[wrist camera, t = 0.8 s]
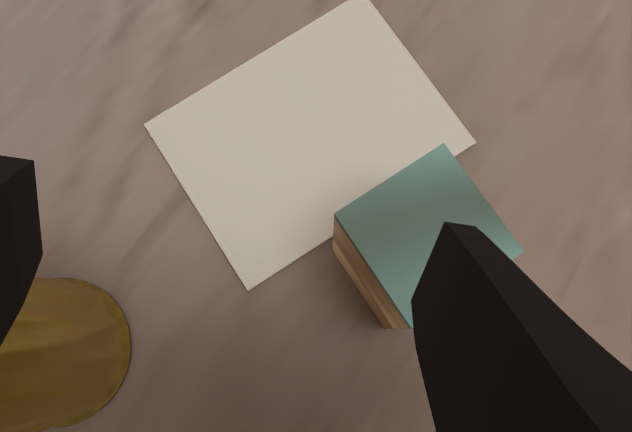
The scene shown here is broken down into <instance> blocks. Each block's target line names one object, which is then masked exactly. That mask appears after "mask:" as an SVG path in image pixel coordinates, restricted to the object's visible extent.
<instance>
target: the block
mask: <svg viewBox="0 0 632 432" xmlns="http://www.w3.org/2000/svg"><path fill="white" fill-rule="evenodd" d="M444 222H451V223H458V224H464V225H471V226H476V227H477V228H478V229H479V230H480V231H482V232H483V233H484V234H485V235H486V236H487V237H488V238H489V239H490V240H491V241H492V242H494V243H495V244H496V245H497V246H498V247H499V248H500V249H501V250H502V251H503V252H504V253H505V254H506V255H507V256H508V257H509V258H510V259H511V260H513V259H514V258H516V257H517V256H519V255H520V254H522V253H523V252H524V251H523V249H522V248H521V246H520V245H519V244H518V242H517V241H516V240H515V238H514V237H513V236H512V234H511V233H510V232H509V230H508V229H507V228H506V226H505V225H504V223H503V222H502V221H501V219H500V218H499V217H498V215H497V214H496V213H495V211H494V210H493V209H492V207H491V206H490V204H489V203H488V202H487V200H486V199H485V198H484V196H483V195H482V194H481V192H480V191H479V190H478V188H477V187H476V186H475V184H474V183H473V181H472V180H471V179H470V177H469V176H468V175H467V173H466V172H465V171H464V169H463V168H462V167H461V165H460V164H459V162H458V161H457V160H456V158H455V157H454V156H453V154H452V153H451V152H450V150H449V149H448V148H447V146H446V145H445V143H442V144H441V145H439V146H438V147H436V148H435V149H433V150H432V151H430V152H428V153H427V154H425V155H424V156H422V157H421V158H419V159H418V160H416V161H415V162H413V163H411V164H410V165H408V166H407V167H405V168H404V169H402V170H401V171H399V172H397V173H396V174H394V175H393V176H391V177H390V178H388V179H387V180H385V181H384V182H382V183H380V184H379V185H377V186H376V187H374V188H373V189H371V190H370V191H368V192H367V193H365V194H363V195H362V196H360V197H359V198H357V199H356V200H354V201H353V202H351V203H349V204H348V205H346V206H345V207H343V208H342V209H340V210H339V211H337V212H336V213H334V227H333V249H332V251H333V252H334V254H335V255H336V257H337V258H338V260H339V261H340V263H341V264H342V266H343V267H344V269H345V270H346V272H347V273H348V275H349V276H350V278H351V279H352V281H353V282H354V284H355V285H356V287H357V288H358V290H359V291H360V293H361V294H362V296H363V297H364V299H365V300H366V302H367V303H368V305H369V306H370V308H371V309H372V311H373V312H374V314H375V315H376V317H377V318H378V320H379V321H380V323H381V324H382V326H383V328H384V329H398V328H412V327H413V319H412V307H411V299H412V296H413V294H414V292H415V289H416V287H417V285H418V282H419V280H420V278H421V275H422V273H423V271H424V268H425V266H426V264H427V261H428V259H429V257H430V254H431V252H432V249H433V247H434V245H435V242H436V240H437V238H438V235H439V233H440V231H441V228H442V226H443V224H444Z"/></svg>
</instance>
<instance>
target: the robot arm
mask: <svg viewBox="0 0 632 432" xmlns="http://www.w3.org/2000/svg"><path fill="white" fill-rule="evenodd" d="M42 255H43V251H42V241H41V230H40V220H39V209H38V199H37V189H36V178H35V168H34V160H27V159H21V158H14V157H7V156H0V346H1V345H2V343H3V341H4V339H5V337H6V336H7V334H8V332H9V330H10V328H11V326H12V325H13V323H14V321H15V319H16V317H17V316H18V314H19V312H20V310H21V308H22V306H23V304H24V302H25V299H26V297H27V294H28V292H29V290H30V287H31V285H32V282H33V279H34V277H35V274H36V271H37V269H38V266H39V263H40V261H41V258H42ZM411 307H412V319H413V329H414V337H415V345H416V351H417V355H418V360H419V364H420V368H421V372H422V376H423V380H424V384H425V388H426V392H427V396H428V400H429V404H430V408H431V412H432V416H433V420H434V424H435V428H436V432H632V371H630V370H629V369H628V368H626V367H625V366H624V365H623V364H622V363H620V362H619V361H618V360H617V359H616V358H614V357H613V356H612V355H611V354H610V353H609V352H607V351H606V350H605V349H604V348H603V347H602V346H601V345H600V344H598V343H597V342H596V341H595V340H594V339H593V338H592V337H591V336H589V335H588V334H587V333H586V332H585V331H584V330H583V329H582V328H580V327H579V326H578V325H577V324H576V323H575V322H574V321H573V320H572V319H571V318H570V317H569V316H568V315H566V314H565V313H564V312H563V311H562V310H561V309H560V308H559V307H558V306H557V305H556V304H555V303H554V302H553V301H552V300H551V299H550V298H549V297H548V296H547V295H546V294H545V293H544V292H543V291H542V290H541V289H540V288H539V287H538V286H537V285H536V284H535V283H534V282H533V281H532V280H531V279H530V278H529V277H528V276H527V275H526V274H525V273H524V272H523V271H522V270H521V269H520V268H519V267H518V266H517V265H516V264H515V263H514V262H513V261H512V260H511V259H510V258H509V257H508V256H507V255H506V254H505V253H504V252H503V251H502V250H501V249H500V248H499V247H498V246H497V245H496V244H495V243H494V242H492V241H491V240H490V239H489V238H488V237H487V236H486V235H485V234H484V233H483V232H482V231H480V230H479V229H478V228H477V227H476V226H471V225H464V224H458V223H451V222H444V224H443V226H442V228H441V231H440V233H439V235H438V238H437V240H436V242H435V245H434V247H433V249H432V252H431V254H430V257H429V259H428V261H427V264H426V266H425V268H424V271H423V273H422V275H421V278H420V280H419V282H418V285H417V287H416V289H415V292H414V294H413V296H412V299H411Z"/></svg>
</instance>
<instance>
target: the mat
mask: <svg viewBox="0 0 632 432" xmlns="http://www.w3.org/2000/svg"><path fill="white" fill-rule="evenodd" d="M144 125H145V127H146V129H147V130H148V132H149V133H150V135H151V137H152V138H153V140H154V141H155V143H156V145H157V146H158V148H159V149H160V151H161V153H162V154H163V156H164V157H165V159H166V161H167V162H168V164H169V165H170V167H171V169H172V170H173V172H174V173H175V175H176V177H177V178H178V180H179V182H180V183H181V185H182V186H183V188H184V190H185V191H186V193H187V194H188V196H189V198H190V199H191V201H192V202H193V204H194V206H195V207H196V209H197V210H198V212H199V214H200V215H201V217H202V218H203V220H204V222H205V223H206V225H207V226H208V228H209V230H210V231H211V233H212V235H213V236H214V238H215V239H216V241H217V243H218V244H219V246H220V247H221V249H222V251H223V252H224V254H225V255H226V257H227V259H228V260H229V262H230V263H231V265H232V267H233V268H234V270H235V271H236V273H237V275H238V276H239V278H240V279H241V281H242V283H243V284H244V286H245V287H246V289H247V291H250V290H252V289H253V288H255V287H256V286H258V285H259V284H261V283H262V282H264V281H265V280H267V279H268V278H270V277H272V276H273V275H275V274H276V273H278V272H279V271H281V270H282V269H284V268H285V267H287V266H288V265H290V264H292V263H293V262H295V261H296V260H298V259H299V258H301V257H302V256H304V255H305V254H307V253H308V252H310V251H312V250H313V249H315V248H316V247H318V246H319V245H321V244H322V243H324V242H325V241H327V240H329V239H330V238H332V237H333V227H334V213H336V212H337V211H339V210H340V209H342V208H343V207H345V206H346V205H348V204H349V203H351V202H353V201H354V200H356V199H357V198H359V197H360V196H362V195H363V194H365V193H367V192H368V191H370V190H371V189H373V188H374V187H376V186H377V185H379V184H380V183H382V182H384V181H385V180H387V179H388V178H390V177H391V176H393V175H394V174H396V173H397V172H399V171H401V170H402V169H404V168H405V167H407V166H408V165H410V164H411V163H413V162H415V161H416V160H418V159H419V158H421V157H422V156H424V155H425V154H427V153H428V152H430V151H432V150H433V149H435V148H436V147H438V146H439V145H441V144H442V143H445V145H446V146H447V148H448V149H449V150H450V152H451V153H452V154H453V156H454V157H456V156H458V155H459V154H461V153H462V152H464V151H465V150H467V149H469V148H470V147H472V146H473V145H475V143H476V142H475V140H474V139H473V138H472V136H471V135H470V134H469V132H468V131H467V130H466V128H465V127H464V126H463V124H462V123H461V122H460V120H459V119H458V118H457V116H456V115H455V114H454V112H453V111H452V110H451V108H450V107H449V106H448V104H447V103H446V102H445V100H444V99H443V98H442V96H441V95H440V94H439V92H438V91H437V90H436V88H435V87H434V86H433V84H432V83H431V82H430V80H429V79H428V78H427V76H426V75H425V74H424V72H423V71H422V70H421V68H420V67H419V66H418V64H417V63H416V62H415V60H414V59H413V58H412V56H411V55H410V54H409V52H408V51H407V50H406V48H405V47H404V46H403V44H402V43H401V42H400V40H399V39H398V38H397V36H396V35H395V34H394V32H393V31H392V30H391V28H390V27H389V26H388V24H387V23H386V22H385V20H384V19H383V18H382V16H381V15H380V14H379V12H378V11H377V10H376V8H375V7H374V6H373V4H372V3H371V2H370V0H348V1H346V2H345V3H343V4H341V5H340V6H338V7H336V8H335V9H333V10H331V11H330V12H328V13H326V14H325V15H323V16H322V17H320V18H318V19H317V20H315V21H313V22H312V23H310V24H308V25H307V26H305V27H303V28H302V29H300V30H298V31H297V32H295V33H293V34H292V35H290V36H289V37H287V38H285V39H284V40H282V41H280V42H279V43H277V44H275V45H274V46H272V47H270V48H269V49H267V50H265V51H264V52H262V53H260V54H259V55H257V56H256V57H254V58H252V59H251V60H249V61H247V62H246V63H244V64H242V65H241V66H239V67H237V68H236V69H234V70H232V71H231V72H229V73H227V74H226V75H224V76H223V77H221V78H219V79H218V80H216V81H214V82H213V83H211V84H209V85H208V86H206V87H204V88H203V89H201V90H199V91H198V92H196V93H194V94H193V95H191V96H190V97H188V98H186V99H185V100H183V101H181V102H180V103H178V104H176V105H175V106H173V107H171V108H170V109H168V110H166V111H165V112H163V113H161V114H160V115H158V116H157V117H155V118H153V119H152V120H150V121H148V122H147V123H145V124H144Z"/></svg>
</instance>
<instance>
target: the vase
mask: <svg viewBox="0 0 632 432" xmlns="http://www.w3.org/2000/svg"><path fill="white" fill-rule="evenodd" d="M129 360H130V334H129V329H128V325H127V322H126V319H125V317H124V315H123V313H122V311H121V309H120V308H119V306H118V305H117V304H116V302H115V301H114V300H113V299H112V298H111V297H110V296H109V295H108V294H107V293H106V292H105V291H104V290H102V289H101V288H99V287H97V286H95V285H92V284H90V283H87V282H84V281H81V280H77V279H71V278H58V279H51V280H48V279H39V278H34V279H33V282H32V285H31V287H30V290H29V292H28V294H27V297H26V299H25V302H24V304H23V306H22V308H21V310H20V312H19V314H18V316H17V317H16V319H15V321H14V323H13V325H12V326H11V328H10V330H9V332H8V334H7V336H6V337H5V339H4V341H3V343H2V345H1V346H0V432H38V431H42V430H45V429H49V428H52V427H64V426H69V425H73V424H76V423H78V422H81V421H83V420H85V419H87V418H88V417H90V416H92V415H93V414H95V413H96V412H98V411H99V410H100V409H101V408H102V407H104V406H105V405H106V404H107V403H108V402H109V401H110V400H111V398H112V397H113V396H114V395H115V393H116V392H117V390H118V389H119V387H120V385H121V383H122V381H123V379H124V377H125V374H126V372H127V368H128V365H129Z"/></svg>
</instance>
